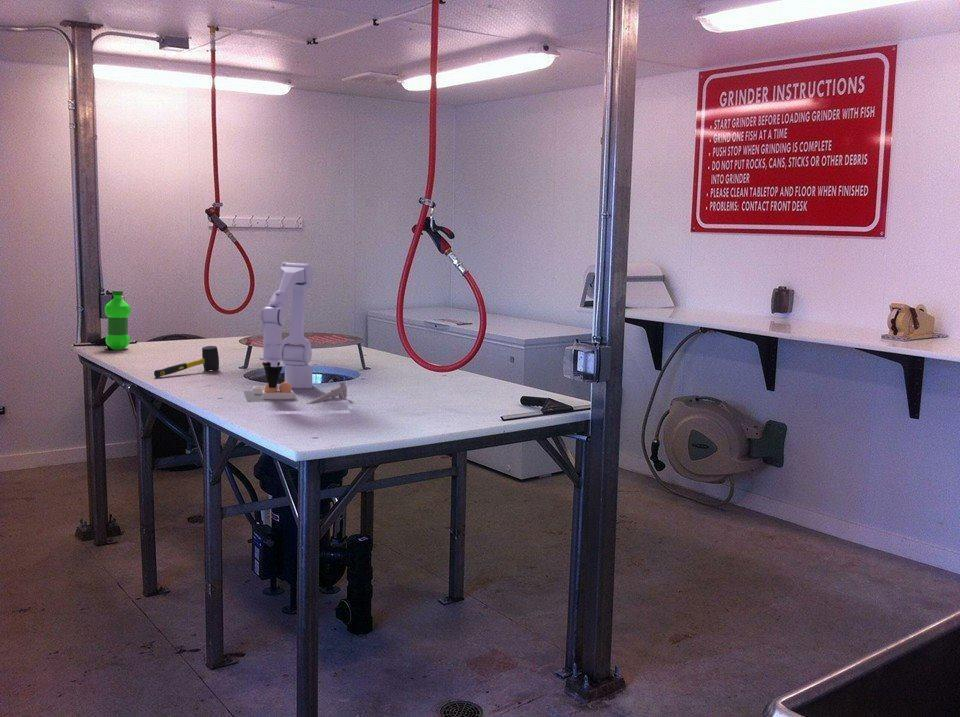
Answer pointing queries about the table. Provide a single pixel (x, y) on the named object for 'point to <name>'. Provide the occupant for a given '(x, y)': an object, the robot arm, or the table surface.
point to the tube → (258, 389)
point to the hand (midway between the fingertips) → (271, 385)
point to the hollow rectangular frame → (277, 395)
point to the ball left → (285, 387)
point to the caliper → (332, 393)
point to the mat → (258, 398)
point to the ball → (270, 389)
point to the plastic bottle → (117, 321)
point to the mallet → (195, 362)
